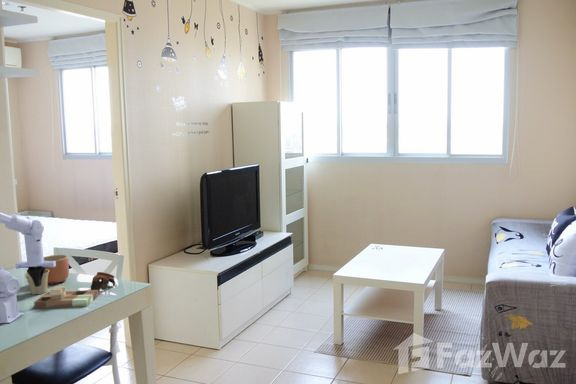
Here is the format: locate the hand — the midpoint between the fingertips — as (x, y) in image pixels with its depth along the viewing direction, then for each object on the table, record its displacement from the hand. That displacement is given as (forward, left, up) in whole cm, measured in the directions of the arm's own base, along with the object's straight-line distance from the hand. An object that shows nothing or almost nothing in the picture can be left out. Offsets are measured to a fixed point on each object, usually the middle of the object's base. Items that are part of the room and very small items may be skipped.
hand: (38, 285), depth 203 cm
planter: (+32, +9, -8) cm, 34 cm away
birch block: (0, -7, -5) cm, 9 cm away
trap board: (+3, -9, -8) cm, 13 cm away
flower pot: (+17, +9, -8) cm, 21 cm away
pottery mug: (+18, -18, -8) cm, 27 cm away
